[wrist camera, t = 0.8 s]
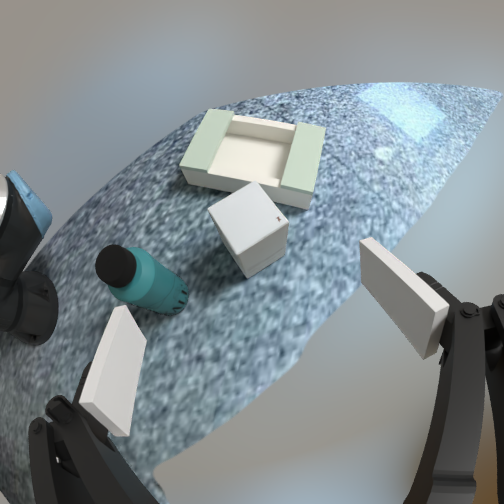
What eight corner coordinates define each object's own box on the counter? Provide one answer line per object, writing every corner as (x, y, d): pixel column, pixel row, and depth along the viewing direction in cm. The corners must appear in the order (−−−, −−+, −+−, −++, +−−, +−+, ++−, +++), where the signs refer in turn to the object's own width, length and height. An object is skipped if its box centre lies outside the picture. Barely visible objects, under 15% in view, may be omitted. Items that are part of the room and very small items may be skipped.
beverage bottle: (154, 279, 44) (85, 234, 25) (193, 275, 44) (139, 226, 25) (155, 318, 42) (80, 297, 23) (194, 316, 42) (137, 294, 23)
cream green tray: (188, 184, 49) (179, 165, 44) (214, 128, 53) (209, 108, 48) (308, 210, 46) (313, 192, 41) (321, 148, 50) (325, 127, 45)
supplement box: (260, 219, 46) (257, 177, 34) (286, 255, 44) (291, 222, 32) (222, 242, 45) (205, 207, 33) (246, 280, 43) (236, 256, 31)
